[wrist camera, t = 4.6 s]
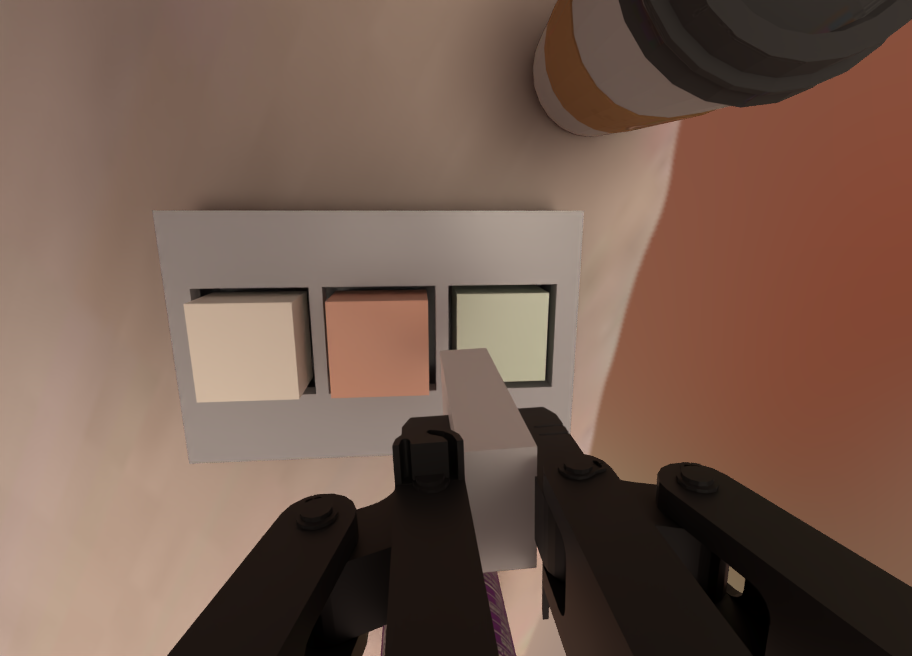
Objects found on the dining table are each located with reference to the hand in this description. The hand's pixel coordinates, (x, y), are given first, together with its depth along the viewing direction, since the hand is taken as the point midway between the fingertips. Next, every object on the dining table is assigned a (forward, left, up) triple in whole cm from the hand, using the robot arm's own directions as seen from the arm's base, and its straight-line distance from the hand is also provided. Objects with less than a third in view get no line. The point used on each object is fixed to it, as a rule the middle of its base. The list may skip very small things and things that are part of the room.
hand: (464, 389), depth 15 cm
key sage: (0, +3, -10) cm, 11 cm away
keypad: (0, -3, -12) cm, 13 cm away
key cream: (0, -9, -9) cm, 13 cm away
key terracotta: (0, -3, -9) cm, 9 cm away
